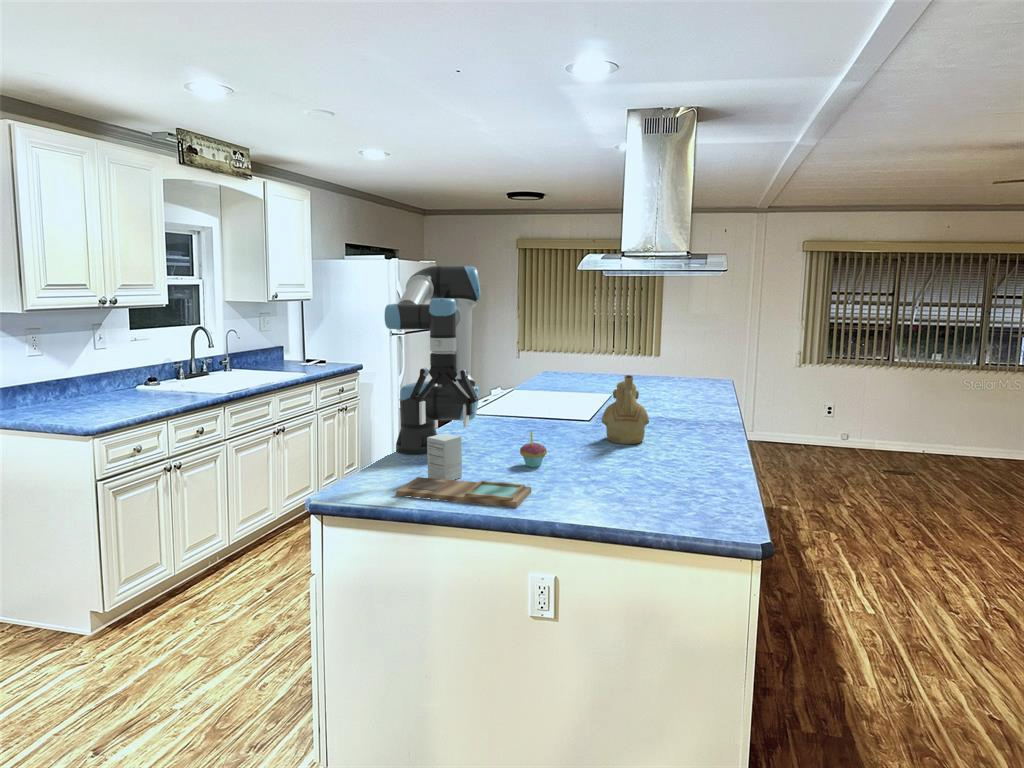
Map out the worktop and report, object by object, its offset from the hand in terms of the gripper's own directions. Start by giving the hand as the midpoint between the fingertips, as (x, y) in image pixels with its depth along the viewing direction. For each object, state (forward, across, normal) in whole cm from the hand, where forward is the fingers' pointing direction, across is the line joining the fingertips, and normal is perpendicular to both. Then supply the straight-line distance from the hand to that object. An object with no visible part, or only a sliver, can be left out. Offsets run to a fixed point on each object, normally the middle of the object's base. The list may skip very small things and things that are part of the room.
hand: (444, 425), depth 206 cm
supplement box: (+16, 0, 0) cm, 16 cm away
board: (+16, +11, -13) cm, 23 cm away
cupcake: (+16, +21, +22) cm, 34 cm away
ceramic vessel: (+16, +44, +65) cm, 80 cm away
